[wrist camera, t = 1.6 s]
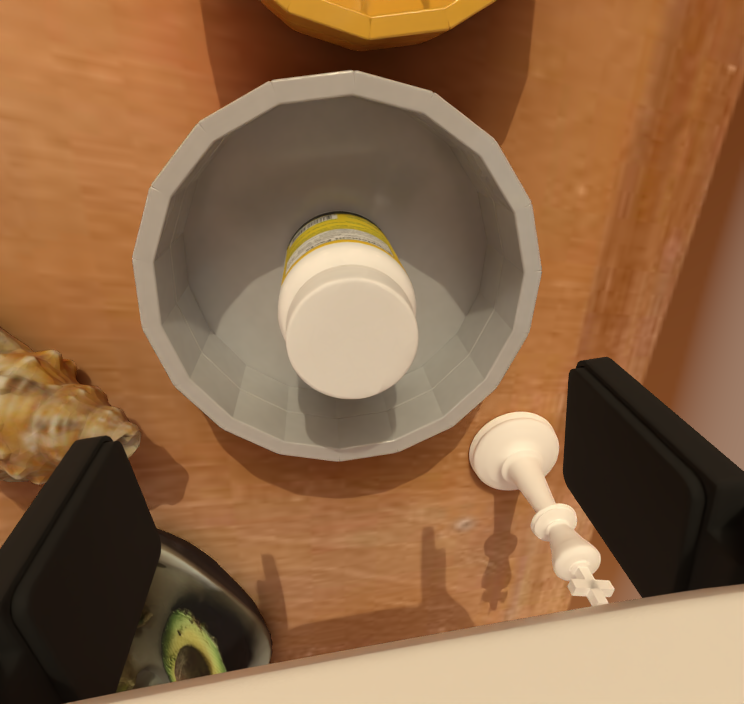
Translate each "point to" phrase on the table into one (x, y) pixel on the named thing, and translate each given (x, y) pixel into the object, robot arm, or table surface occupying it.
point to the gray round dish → (305, 200)
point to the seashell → (49, 412)
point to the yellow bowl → (374, 20)
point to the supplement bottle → (346, 307)
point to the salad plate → (193, 622)
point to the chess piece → (538, 494)
